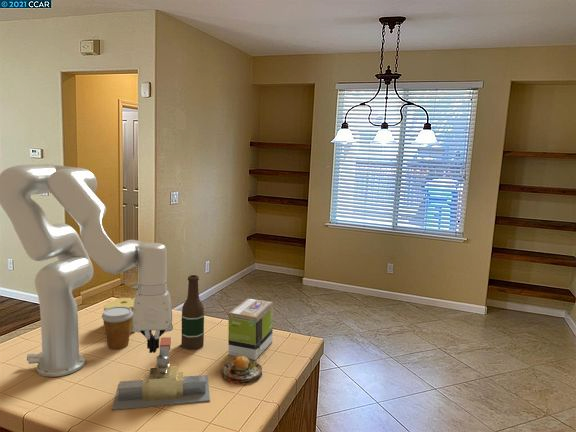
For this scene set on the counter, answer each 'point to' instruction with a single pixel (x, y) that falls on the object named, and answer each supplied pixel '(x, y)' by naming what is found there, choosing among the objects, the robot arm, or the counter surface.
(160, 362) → the lever
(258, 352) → the tea box
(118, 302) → the cheese
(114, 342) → the disposable coffee cup
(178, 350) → the counter surface
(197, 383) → the valve
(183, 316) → the beer bottle
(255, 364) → the plate of food
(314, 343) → the counter surface
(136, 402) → the mat
